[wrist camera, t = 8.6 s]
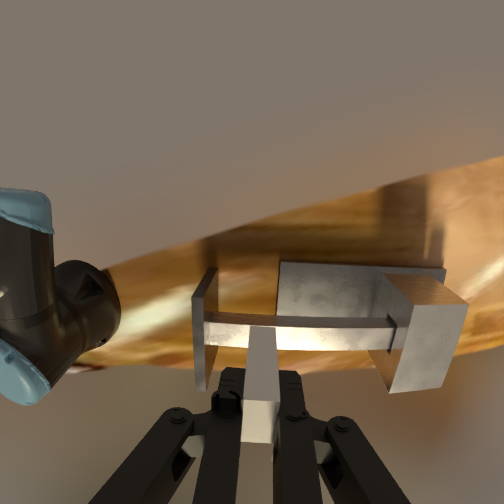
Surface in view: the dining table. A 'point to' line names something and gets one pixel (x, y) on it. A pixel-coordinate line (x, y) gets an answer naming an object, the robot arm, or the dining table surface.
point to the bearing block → (383, 312)
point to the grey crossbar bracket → (287, 330)
